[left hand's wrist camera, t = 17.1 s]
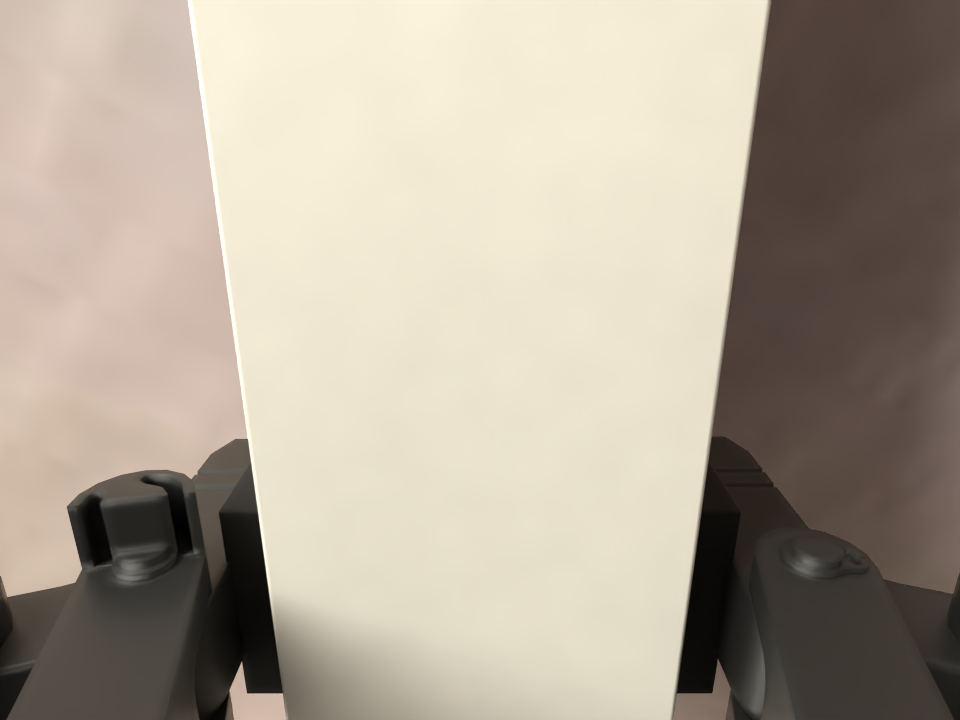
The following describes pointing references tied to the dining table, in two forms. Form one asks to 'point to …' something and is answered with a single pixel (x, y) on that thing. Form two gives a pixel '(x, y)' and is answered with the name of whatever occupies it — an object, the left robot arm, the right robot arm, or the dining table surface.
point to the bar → (479, 335)
